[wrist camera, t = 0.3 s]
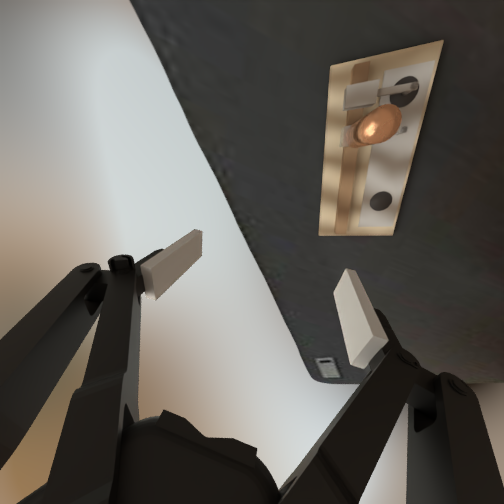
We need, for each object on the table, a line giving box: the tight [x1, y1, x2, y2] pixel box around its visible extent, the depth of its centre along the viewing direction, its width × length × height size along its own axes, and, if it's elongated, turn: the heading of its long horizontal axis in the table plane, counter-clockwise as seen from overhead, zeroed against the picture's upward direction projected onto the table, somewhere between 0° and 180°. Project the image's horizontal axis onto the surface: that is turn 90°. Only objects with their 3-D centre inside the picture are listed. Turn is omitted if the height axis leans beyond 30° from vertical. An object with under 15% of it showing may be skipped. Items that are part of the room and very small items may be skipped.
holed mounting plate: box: [319, 40, 444, 236], centre depth 31 cm, size 28×14×5 cm, turn 6°
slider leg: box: [339, 104, 409, 148], centre depth 24 cm, size 3×9×13 cm, turn 96°
